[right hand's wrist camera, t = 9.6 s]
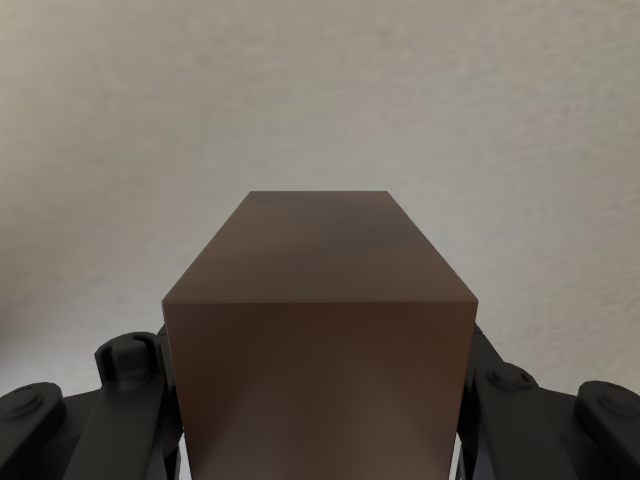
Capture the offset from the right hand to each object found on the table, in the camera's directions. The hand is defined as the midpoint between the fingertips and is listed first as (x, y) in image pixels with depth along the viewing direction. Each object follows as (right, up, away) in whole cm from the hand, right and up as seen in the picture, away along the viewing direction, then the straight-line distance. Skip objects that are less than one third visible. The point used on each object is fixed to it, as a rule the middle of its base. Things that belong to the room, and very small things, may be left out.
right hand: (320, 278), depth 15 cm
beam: (0, -11, +4) cm, 11 cm away
